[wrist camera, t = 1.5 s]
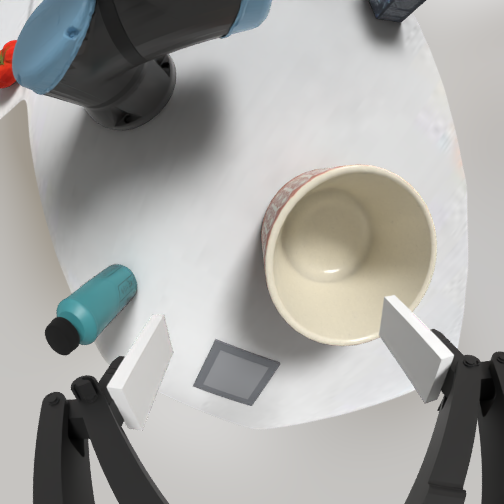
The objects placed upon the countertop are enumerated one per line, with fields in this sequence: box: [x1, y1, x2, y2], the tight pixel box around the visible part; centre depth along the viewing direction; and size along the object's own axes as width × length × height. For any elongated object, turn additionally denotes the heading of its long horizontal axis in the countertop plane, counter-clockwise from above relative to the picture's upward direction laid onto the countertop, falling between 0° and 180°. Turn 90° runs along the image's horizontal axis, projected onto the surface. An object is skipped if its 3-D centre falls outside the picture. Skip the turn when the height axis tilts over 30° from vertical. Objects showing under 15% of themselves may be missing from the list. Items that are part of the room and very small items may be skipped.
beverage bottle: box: [45, 264, 137, 355], centre depth 33 cm, size 6×7×20 cm
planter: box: [261, 165, 437, 346], centre depth 33 cm, size 19×19×15 cm
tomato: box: [0, 40, 17, 88], centre depth 28 cm, size 11×11×8 cm
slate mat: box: [193, 339, 280, 406], centre depth 47 cm, size 12×12×1 cm
